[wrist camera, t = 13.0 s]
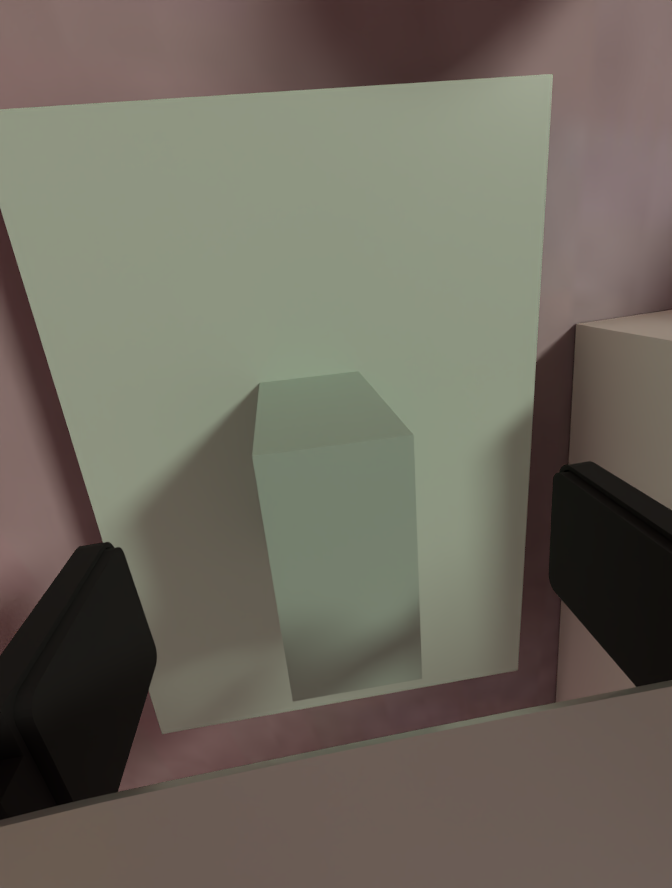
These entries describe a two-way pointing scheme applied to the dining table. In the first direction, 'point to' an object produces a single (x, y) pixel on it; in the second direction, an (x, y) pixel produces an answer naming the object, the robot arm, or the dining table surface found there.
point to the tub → (617, 453)
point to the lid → (297, 373)
